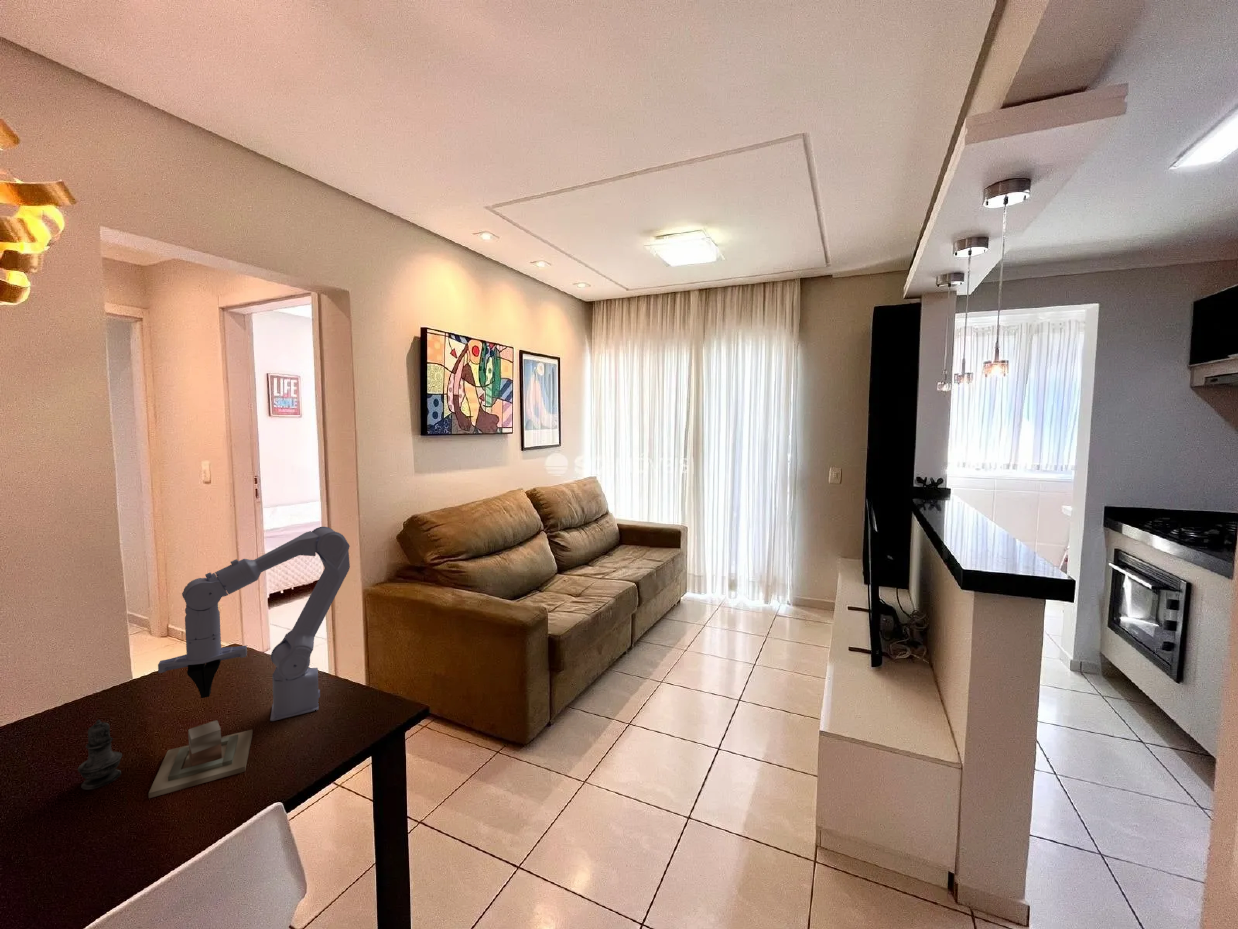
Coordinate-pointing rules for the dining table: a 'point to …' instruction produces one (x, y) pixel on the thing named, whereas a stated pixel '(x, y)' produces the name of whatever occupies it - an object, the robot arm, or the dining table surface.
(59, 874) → the dining table surface
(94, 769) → the dark grey chess piece
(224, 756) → the pocket board
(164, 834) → the dining table surface
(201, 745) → the brown and beige block
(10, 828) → the dining table surface
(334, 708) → the dining table surface
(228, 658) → the robot arm
